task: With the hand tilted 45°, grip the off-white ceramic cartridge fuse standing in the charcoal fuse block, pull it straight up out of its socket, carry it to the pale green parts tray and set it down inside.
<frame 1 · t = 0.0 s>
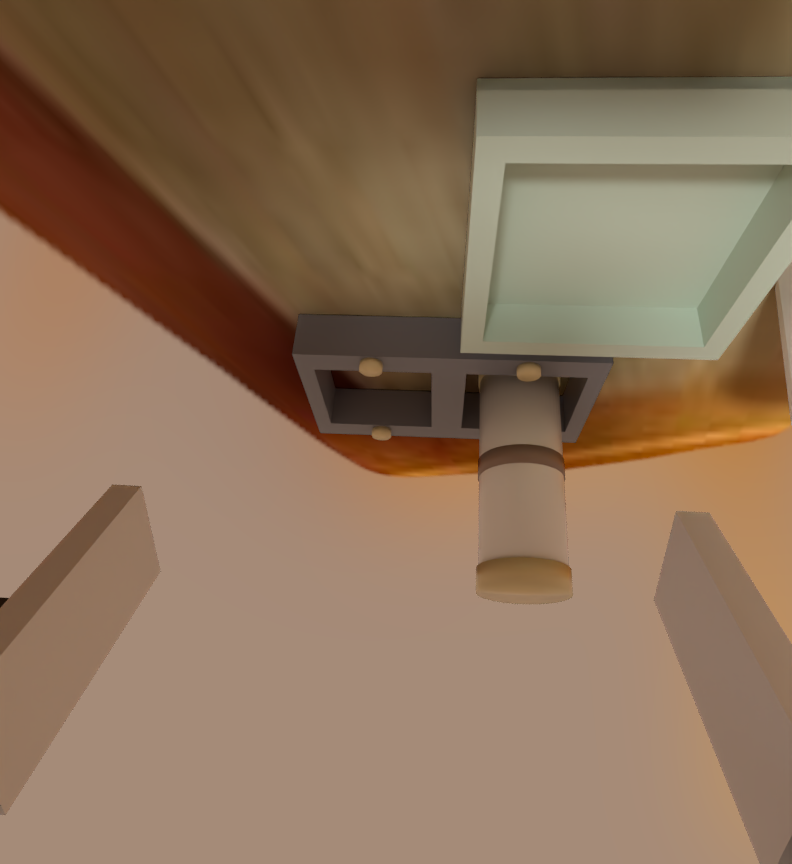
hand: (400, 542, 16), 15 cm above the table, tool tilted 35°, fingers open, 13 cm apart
parts tray: (615, 217, 25), on the table
fuse: (518, 367, 36), resting in fuse block
fuse block: (448, 365, 36), on the table
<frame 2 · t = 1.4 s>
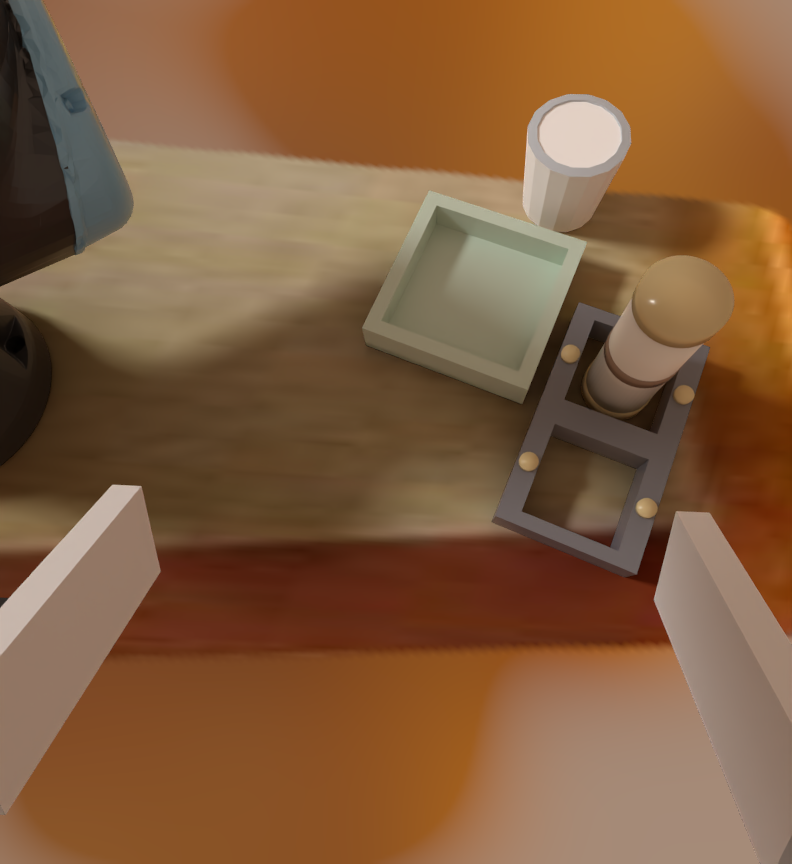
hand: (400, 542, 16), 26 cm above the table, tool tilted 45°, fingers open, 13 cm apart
parts tray: (473, 304, 46), on the table
white cylinder: (558, 202, 48), on the table
fuse: (614, 389, 43), resting in fuse block
fuse block: (596, 439, 42), on the table
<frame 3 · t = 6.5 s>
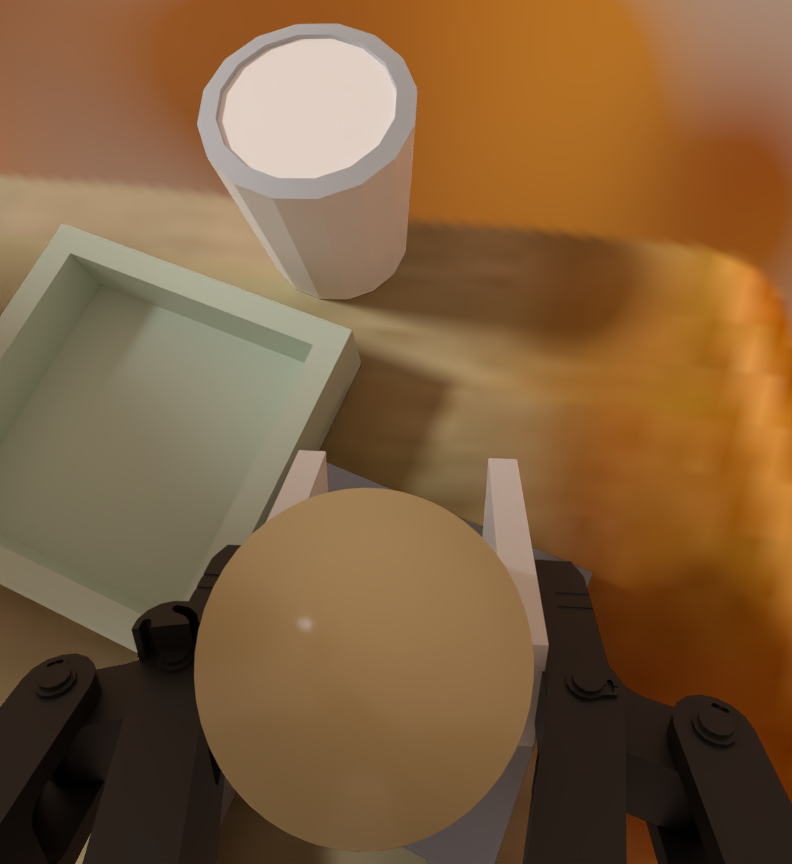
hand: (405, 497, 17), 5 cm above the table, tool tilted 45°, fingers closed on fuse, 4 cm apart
parts tray: (151, 444, 23), on the table
white cylinder: (340, 242, 26), on the table
fuse: (406, 636, 21), resting in fuse block, touching gripper
fuse block: (356, 758, 20), on the table
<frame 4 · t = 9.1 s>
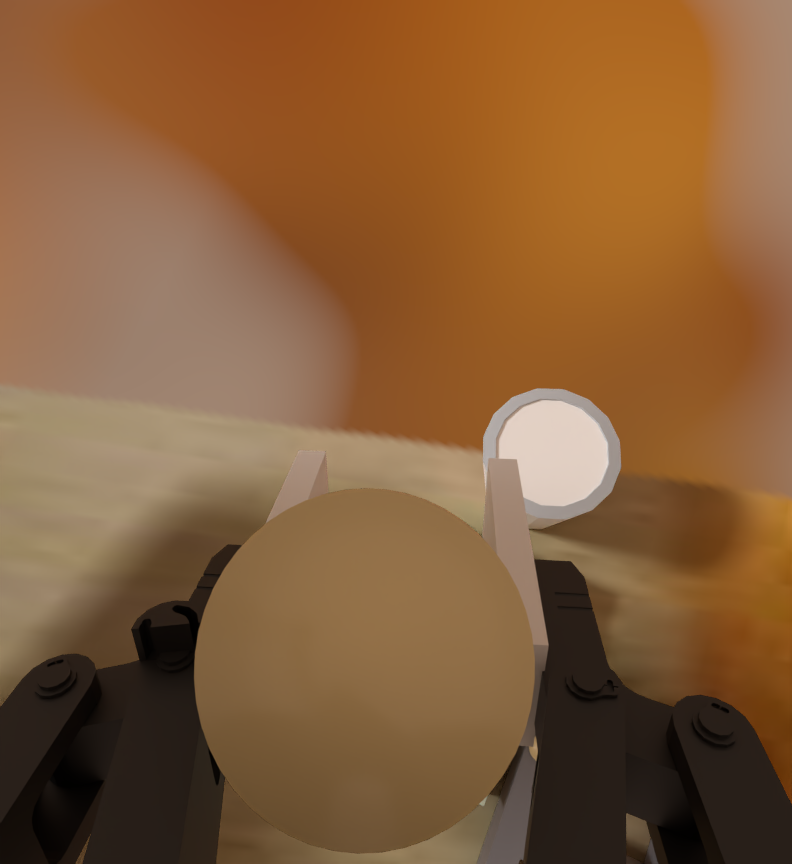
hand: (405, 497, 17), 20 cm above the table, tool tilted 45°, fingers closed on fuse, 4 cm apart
white cylinder: (531, 483, 38), on the table
fuse: (406, 637, 21), point 15 cm above the table, touching gripper
fuse block: (578, 852, 32), on the table
when the fingers open (7 cm above the table, at t = 11.9 s): fuse drops 1 cm, resting on parts tray.
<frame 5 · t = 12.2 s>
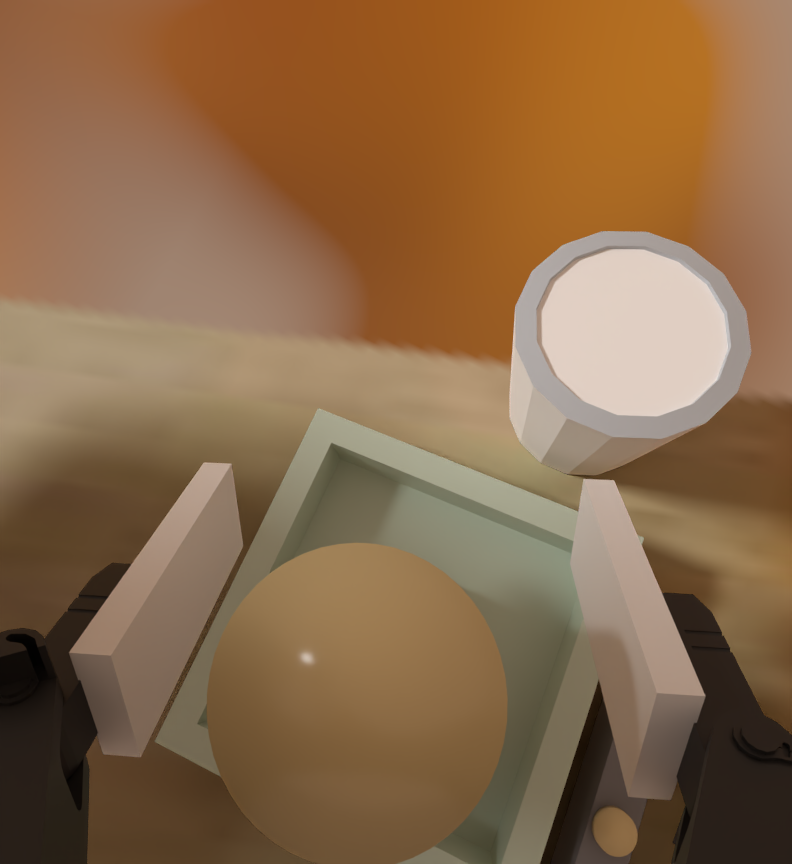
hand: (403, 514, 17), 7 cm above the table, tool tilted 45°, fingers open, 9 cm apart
parts tray: (408, 636, 23), on the table
white cylinder: (578, 409, 25), on the table
fuse: (407, 638, 22), point 1 cm above the table, touching parts tray
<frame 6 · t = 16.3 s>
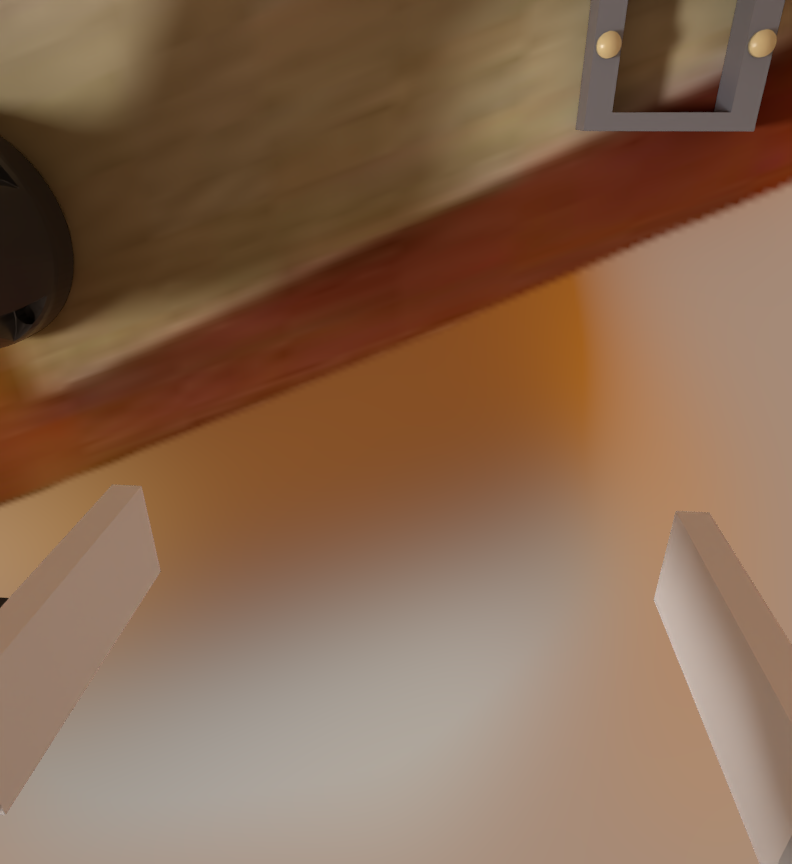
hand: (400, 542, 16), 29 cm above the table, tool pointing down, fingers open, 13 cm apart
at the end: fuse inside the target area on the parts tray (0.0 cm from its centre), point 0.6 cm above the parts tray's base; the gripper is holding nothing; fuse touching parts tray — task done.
